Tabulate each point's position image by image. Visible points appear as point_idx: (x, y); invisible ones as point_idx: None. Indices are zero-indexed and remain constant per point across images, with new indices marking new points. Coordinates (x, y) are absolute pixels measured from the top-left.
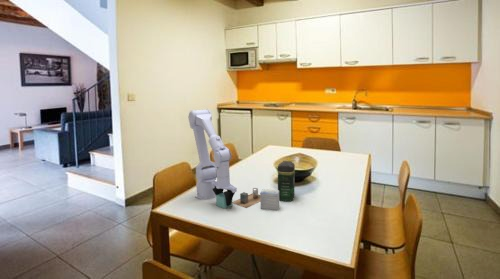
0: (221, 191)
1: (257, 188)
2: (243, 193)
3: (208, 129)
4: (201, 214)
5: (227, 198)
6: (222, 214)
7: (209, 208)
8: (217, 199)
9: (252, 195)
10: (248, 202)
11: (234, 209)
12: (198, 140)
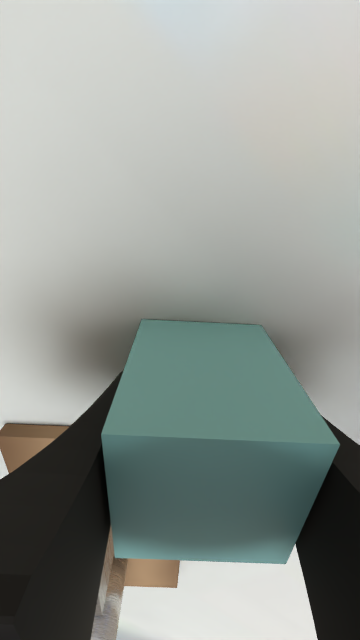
0: (316, 565)
1: None
2: None
3: None
4: (310, 32)
5: (45, 447)
6: (77, 231)
7: (320, 263)
8: (274, 385)
9: (151, 569)
10: None
11: (85, 381)
12: None
